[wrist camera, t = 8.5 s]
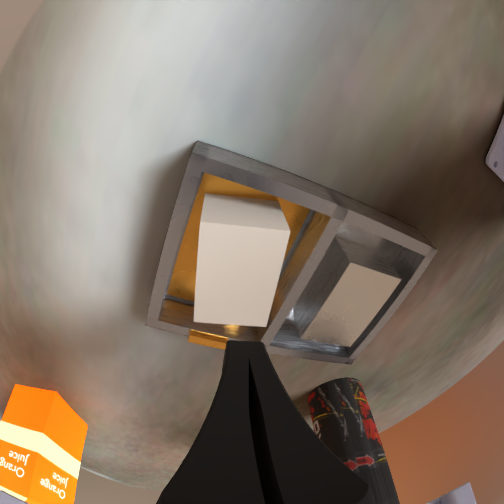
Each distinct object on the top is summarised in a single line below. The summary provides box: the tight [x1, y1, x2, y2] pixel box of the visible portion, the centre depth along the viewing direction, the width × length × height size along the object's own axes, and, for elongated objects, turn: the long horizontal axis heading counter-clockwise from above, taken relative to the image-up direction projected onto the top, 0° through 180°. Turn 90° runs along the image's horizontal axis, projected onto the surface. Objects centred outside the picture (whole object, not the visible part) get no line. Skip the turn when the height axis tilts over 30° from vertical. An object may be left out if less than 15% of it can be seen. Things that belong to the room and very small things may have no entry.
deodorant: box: [308, 378, 400, 504], centre depth 22 cm, size 6×6×15 cm
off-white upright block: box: [194, 193, 291, 327], centre depth 16 cm, size 4×6×4 cm, turn 171°
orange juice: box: [0, 384, 88, 504], centre depth 20 cm, size 8×9×20 cm
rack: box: [145, 141, 438, 364], centre depth 18 cm, size 15×11×3 cm
